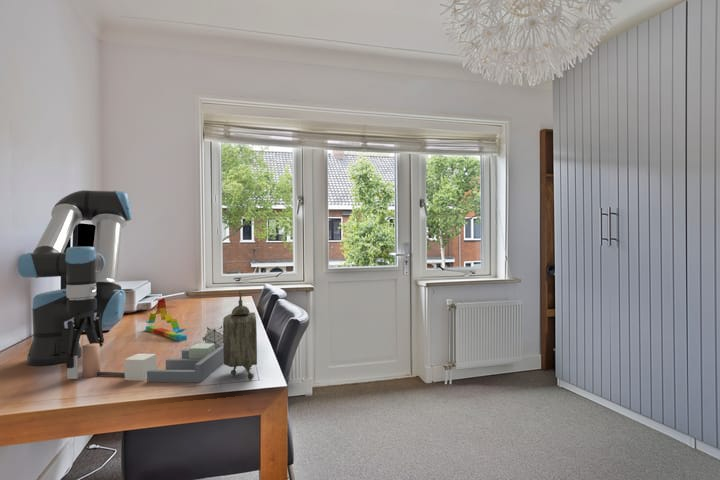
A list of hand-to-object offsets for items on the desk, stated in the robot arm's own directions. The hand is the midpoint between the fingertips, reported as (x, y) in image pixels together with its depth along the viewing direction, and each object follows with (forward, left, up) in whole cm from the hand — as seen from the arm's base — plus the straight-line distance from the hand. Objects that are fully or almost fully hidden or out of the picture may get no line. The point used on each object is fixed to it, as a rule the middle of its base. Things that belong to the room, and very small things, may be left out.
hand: (83, 373), depth 128 cm
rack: (+30, +5, 0) cm, 30 cm away
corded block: (+11, -1, 0) cm, 11 cm away
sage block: (+32, +11, -1) cm, 34 cm away
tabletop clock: (+48, +1, -1) cm, 48 cm away
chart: (-1, +50, -1) cm, 50 cm away
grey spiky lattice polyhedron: (+29, +28, -1) cm, 40 cm away
